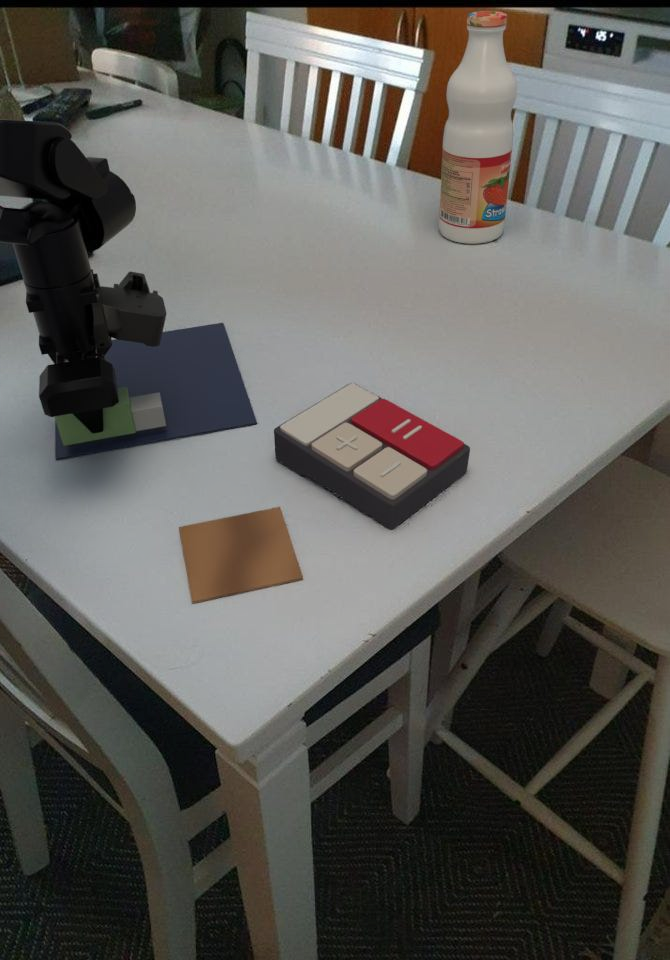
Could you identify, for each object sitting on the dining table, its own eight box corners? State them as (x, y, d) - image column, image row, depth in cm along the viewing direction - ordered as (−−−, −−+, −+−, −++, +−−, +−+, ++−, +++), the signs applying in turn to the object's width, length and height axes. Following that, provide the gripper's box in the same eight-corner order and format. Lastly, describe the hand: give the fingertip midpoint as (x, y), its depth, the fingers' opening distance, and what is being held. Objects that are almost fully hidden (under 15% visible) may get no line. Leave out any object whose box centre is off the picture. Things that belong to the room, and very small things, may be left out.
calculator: (393, 500, 67) (271, 422, 75) (391, 536, 70) (273, 458, 78) (473, 440, 73) (352, 374, 81) (468, 476, 76) (351, 409, 84)
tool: (63, 446, 79) (54, 416, 76) (63, 427, 81) (54, 398, 79) (166, 427, 80) (160, 398, 78) (163, 410, 83) (157, 381, 81)
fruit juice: (443, 217, 123) (455, 6, 105) (506, 222, 121) (529, 7, 103) (433, 242, 116) (443, 21, 98) (499, 247, 114) (522, 22, 96)
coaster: (192, 603, 64) (191, 601, 64) (179, 529, 71) (178, 526, 70) (303, 579, 66) (302, 577, 65) (280, 509, 72) (279, 506, 72)
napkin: (55, 460, 79) (55, 458, 79) (55, 350, 95) (55, 348, 95) (257, 424, 83) (256, 421, 82) (223, 324, 99) (223, 322, 99)
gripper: (161, 308, 64) (190, 462, 74) (142, 222, 78) (169, 361, 88) (16, 330, 62) (66, 485, 72) (23, 238, 76) (64, 378, 86)
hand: (97, 422), depth 80 cm, fingers closed on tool, 3 cm apart
